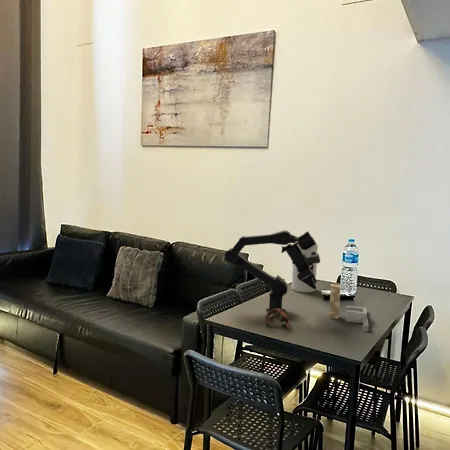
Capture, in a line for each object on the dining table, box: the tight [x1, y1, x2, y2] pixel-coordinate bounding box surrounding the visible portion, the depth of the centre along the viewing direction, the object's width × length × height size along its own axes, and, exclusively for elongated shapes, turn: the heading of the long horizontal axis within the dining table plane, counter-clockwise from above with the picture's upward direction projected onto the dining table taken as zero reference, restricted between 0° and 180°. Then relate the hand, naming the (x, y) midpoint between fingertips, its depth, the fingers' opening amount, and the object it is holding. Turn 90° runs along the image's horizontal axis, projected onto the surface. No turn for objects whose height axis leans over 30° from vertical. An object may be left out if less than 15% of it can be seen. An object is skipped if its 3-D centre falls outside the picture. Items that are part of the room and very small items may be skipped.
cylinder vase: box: [291, 243, 319, 294], centre depth 234 cm, size 12×12×25 cm
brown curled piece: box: [263, 308, 291, 330], centre depth 178 cm, size 12×10×8 cm
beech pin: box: [328, 283, 342, 320], centre depth 190 cm, size 4×4×14 cm
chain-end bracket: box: [345, 305, 370, 333], centre depth 188 cm, size 9×28×4 cm, turn 165°
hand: (315, 285), depth 193 cm, fingers open, 9 cm apart
